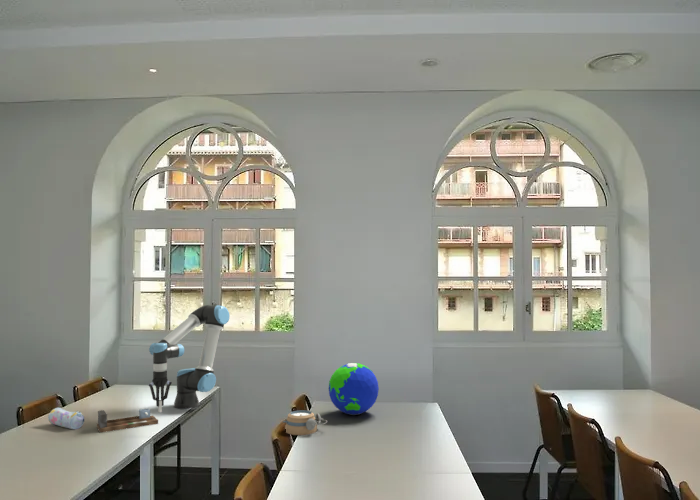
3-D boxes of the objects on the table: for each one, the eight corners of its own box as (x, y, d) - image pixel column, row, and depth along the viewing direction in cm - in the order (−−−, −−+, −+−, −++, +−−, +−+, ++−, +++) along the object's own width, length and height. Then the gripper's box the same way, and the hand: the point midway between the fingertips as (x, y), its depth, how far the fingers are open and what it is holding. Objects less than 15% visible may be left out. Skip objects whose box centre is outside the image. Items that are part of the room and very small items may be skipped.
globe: (386, 410, 339) (386, 360, 340) (367, 423, 312) (366, 369, 313) (342, 405, 352) (341, 357, 353) (319, 417, 325) (319, 365, 325)
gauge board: (153, 418, 325) (153, 403, 325) (158, 423, 315) (158, 407, 315) (96, 427, 309) (96, 410, 309) (100, 432, 299) (100, 415, 299)
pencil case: (85, 427, 310) (85, 409, 310) (71, 431, 302) (71, 413, 302) (61, 422, 320) (61, 405, 320) (46, 426, 312) (46, 409, 312)
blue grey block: (148, 417, 320) (148, 408, 320) (152, 420, 312) (152, 411, 312) (139, 418, 318) (139, 409, 318) (142, 422, 310) (142, 413, 310)
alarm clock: (292, 408, 311) (331, 411, 304) (292, 424, 311) (331, 428, 304) (279, 416, 295) (320, 419, 288) (279, 433, 295) (320, 437, 288)
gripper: (169, 368, 329) (169, 409, 328) (146, 370, 322) (146, 412, 321) (173, 370, 322) (173, 411, 322) (149, 372, 315) (149, 415, 315)
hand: (159, 411), depth 321 cm, fingers closed
